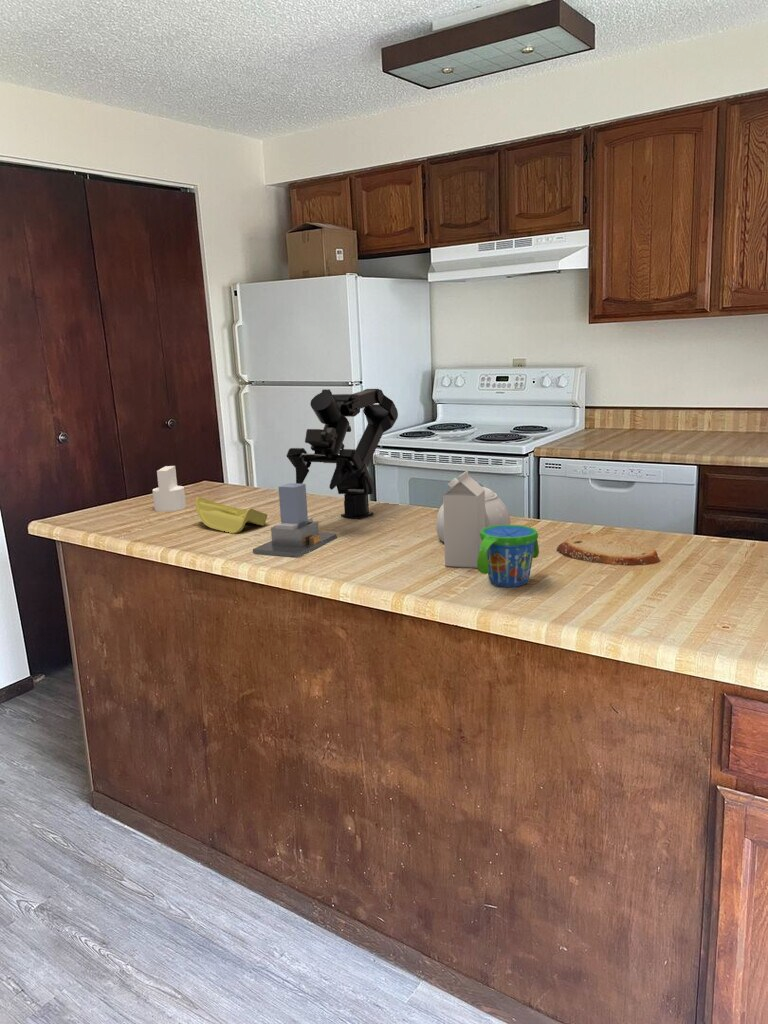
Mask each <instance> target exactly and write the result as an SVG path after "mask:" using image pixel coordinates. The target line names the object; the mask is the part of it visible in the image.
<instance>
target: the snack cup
mask: <svg viewBox="0 0 768 1024" xmlns="http://www.w3.org/2000/svg"><path fill="white" fill-rule="evenodd" d="M480 537H481V539H482V543H481V546H480V549H479V555H478V561H477V568H476V569H477V571H478V572H480V573H481V574H483V575H488V580H489V581H490V583H492V584H493V585H495V586H497V587H503V588H504V587H506V588H512V587H516V588H517V587H519V586H523V585H525V584H527V583H529V582H530V581H529V580H530V576H531V569H532V566H533V559H536V558H539V554H540V547H539V546H540V545H539V541H538V538H539V533H538V531H537V529H535V528H533V527H530V526H526V525H520V524H518V525H516V524H510V525H497V526H490V527H486V528H484V529H482V530H481V532H480Z"/></svg>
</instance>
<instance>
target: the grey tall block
mask: <svg viewBox="0 0 768 1024" xmlns="http://www.w3.org/2000/svg"><path fill="white" fill-rule="evenodd" d="M278 496H279V497H278V498H279V513H280V523H278V524H276V525H275V526H276V529H290V530H294V529H296V528H301V527H304V526H306V525H308V523H309V522H311V521H314V519H313V518H314V517H308V503H307V502H308V501H307V484H306V483H302V484H297V483H296V482H295V483H293V482H292V483H290V482H288V483H285V484H282V485H280V486H278Z"/></svg>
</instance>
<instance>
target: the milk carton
mask: <svg viewBox="0 0 768 1024" xmlns="http://www.w3.org/2000/svg"><path fill="white" fill-rule="evenodd" d="M478 483H479V482H478ZM478 483H477V481H476V480H474V479H473V478H472V477H471V475H469V470H468V469H467V470H465V471H464V472H462V473H461V474H460V475H459V480H458V479H457V477H454V478H453V479H452V480H451V481H450V482H448V483H447V485H448V486H449V488H450V489H449V490H448V491H447V492H445V493H444V494H443V496H442V498H443V499H442V501H443V503H442V504H443V508H444V542H443V543H444V565H445V566H444V567H456V568H474V569H475V568H476V569H478V568H477V561H478V555H479V549H480V546H481V543H482V539H481V537H480V532H481V530H482V529H484V528H485V489H484V488H482V487H483V486H481V485H480V483H479V484H478Z"/></svg>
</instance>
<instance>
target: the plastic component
mask: <svg viewBox="0 0 768 1024" xmlns="http://www.w3.org/2000/svg"><path fill="white" fill-rule="evenodd" d="M195 510H196V513H197V515H198V518H199V519H200V521H201V522H202V523H203V524H204V525H205V526H207V527H209V528H210V529H212V530H216V531H220V532H224V531H225V533H228V532H229V534H233V533H235V534H238V532H239V533H240V532H241V531H243V529H244V528H245V525H246V523H248V524H251V523H252V524H253V525H255V524H256V525H255V526H260V525H261V526H260V527H264V526H265V525H266V522H267V518H268V514H267V513H263V512H262V511H259V510H256V509H253V508H247V509H243V508H237V507H235V506H234V507H233V506H229V505H226V504H222V503H219V502H215V501H212V500H209V499H206V498H204V497H202V496H201V497H200V496H197V497H196V498H195ZM252 524H251V525H252Z"/></svg>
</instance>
